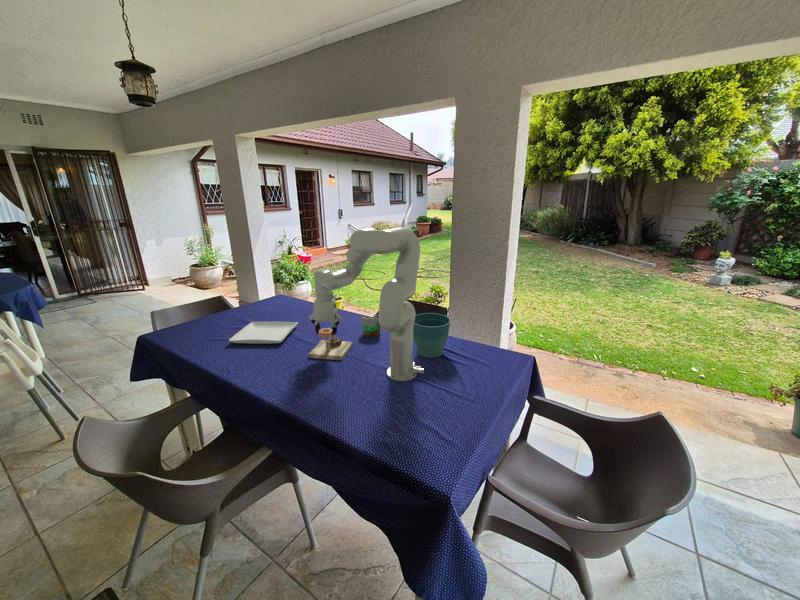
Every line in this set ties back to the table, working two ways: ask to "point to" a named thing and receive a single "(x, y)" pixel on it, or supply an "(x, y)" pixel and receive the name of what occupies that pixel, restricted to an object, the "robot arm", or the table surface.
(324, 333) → the terracotta gear
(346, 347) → the gear board
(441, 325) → the flower pot
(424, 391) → the table surface
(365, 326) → the food container
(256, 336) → the square plate
